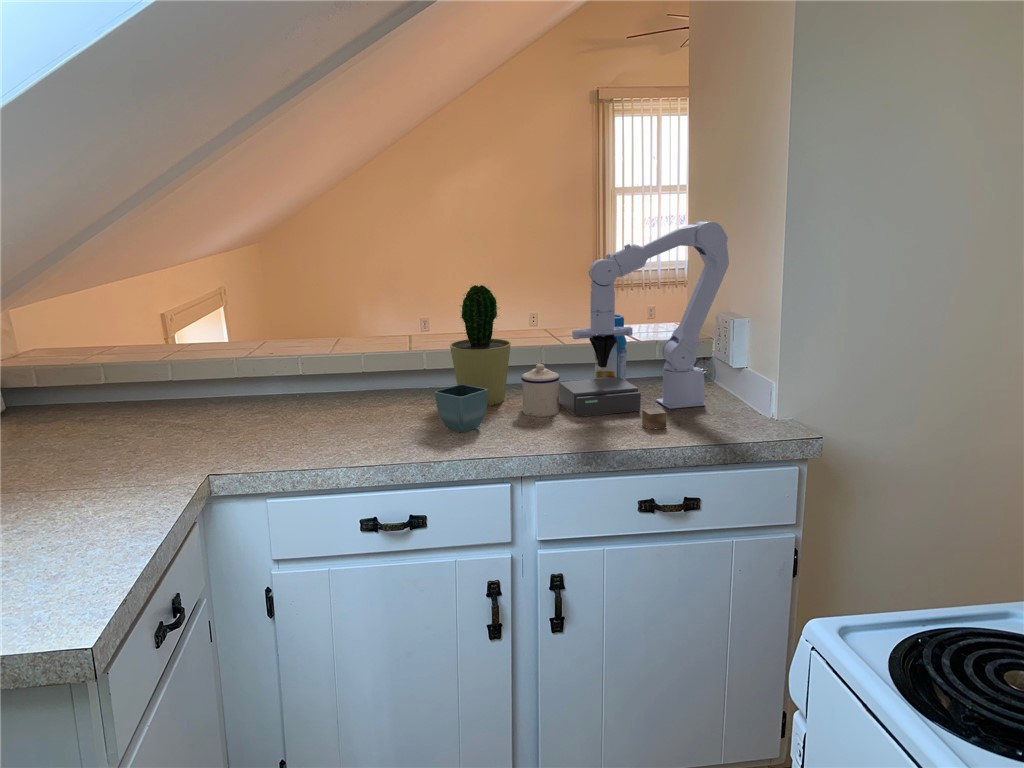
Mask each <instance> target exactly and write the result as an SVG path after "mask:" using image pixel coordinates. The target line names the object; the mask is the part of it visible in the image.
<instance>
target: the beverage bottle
mask: <svg viewBox="0 0 1024 768" xmlns="http://www.w3.org/2000/svg"><path fill="white" fill-rule="evenodd" d="M615 327H625V317H624V316H623V315H621V314H615ZM597 335H603V334H597ZM614 338H616V343H615V344H614V346H613V348H612V350H611V352H610V355H609V358H608V362H607V367H603V368H601V367H599V366H598V360H597V356H596V353H595V350H593V351H594V352H593V354H594V379H604V378H616V377H620V378H622V379H624V380H625V381H627V356H628V350H627V348H626V345H627V338H626V335H625V336H614Z"/></svg>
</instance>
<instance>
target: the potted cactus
mask: <svg viewBox="0 0 1024 768" xmlns="http://www.w3.org/2000/svg"><path fill="white" fill-rule="evenodd" d="M463 297H464V298H461V299H462V304H460V305H459V307H461V315H460V317H459V319H461V321H460V322H461V323H464V325H462V326H463V327H465V333H464V337H467V338H465V339H461V340H456V341H453V342H451V343H449V347H450V353H451V360H452V365H453V369H454V374H455V380H456V386H457V385H461V384H463V385H469V386H474V387H479V388H485V389H488V397H487V407H488V405H490V406H494V404H495V405H498V403H499V404H501V403H503V402H504V401H505V396H506V389H507V382H508V381H507V379H508V372H509V371H508V370H509V363H510V354H511V344H512V342H511V341H509V340H505V339H503V338H502V339H499V338H494V337H493V331H496V330H497V331H498V328H496V329H494V323H495V321H494V320H498V317H499V318H500V319H501V316H500V314H498V311H499V309H501V307H499V306H497V304H498V305H499V302H497V300H498V299H497V298H496V296H495V295H494V293H493V292H492V290H491V289H490V286H488V287H486V285H485V284H480V285H478V284H477V285H476V284H475V285H474V284H473V285H471V286H470V287H469V289H468V291H466V293H465V292H464V294H463ZM465 334H466V335H465ZM503 400H504V401H503ZM502 401H503V402H502ZM500 402H501V403H500Z"/></svg>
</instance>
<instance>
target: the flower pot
mask: <svg viewBox="0 0 1024 768" xmlns="http://www.w3.org/2000/svg"><path fill="white" fill-rule="evenodd" d="M433 395H434V398H435V403H436V404H435V405H436V409H437V412H438V415H439V417H440V420H441V422H442V423H443V425H444V426H445V427H446V428H447V429H448V430H451V431H455V432H458V433H461V434H462V433H466V432H469V431H472V430H476V429H477V428H479V427H480V425H481V424H482V422H483V420H484V419H485V416H486V412H487V408H488V406H487V397H488V389H485V388H479V387H474V386H469V385H463V384H461V385H457V384H456V385H454V386H450V387H445V388H442V389H438V390H435V391H434V393H433Z"/></svg>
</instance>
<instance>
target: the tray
mask: <svg viewBox="0 0 1024 768" xmlns="http://www.w3.org/2000/svg"><path fill="white" fill-rule="evenodd" d="M641 394H642V392H640V391H638V392H632V393H620V392H619V393H612V394H609V395H597V396H588V395H584V396H578V397H576V416H575V417H577V418H578V417H586V416H587V417H588V416H599V415H600V416H601V415H608V414H609V415H610V414H621V413H632V412H640V411H641V396H642V395H641Z"/></svg>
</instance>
